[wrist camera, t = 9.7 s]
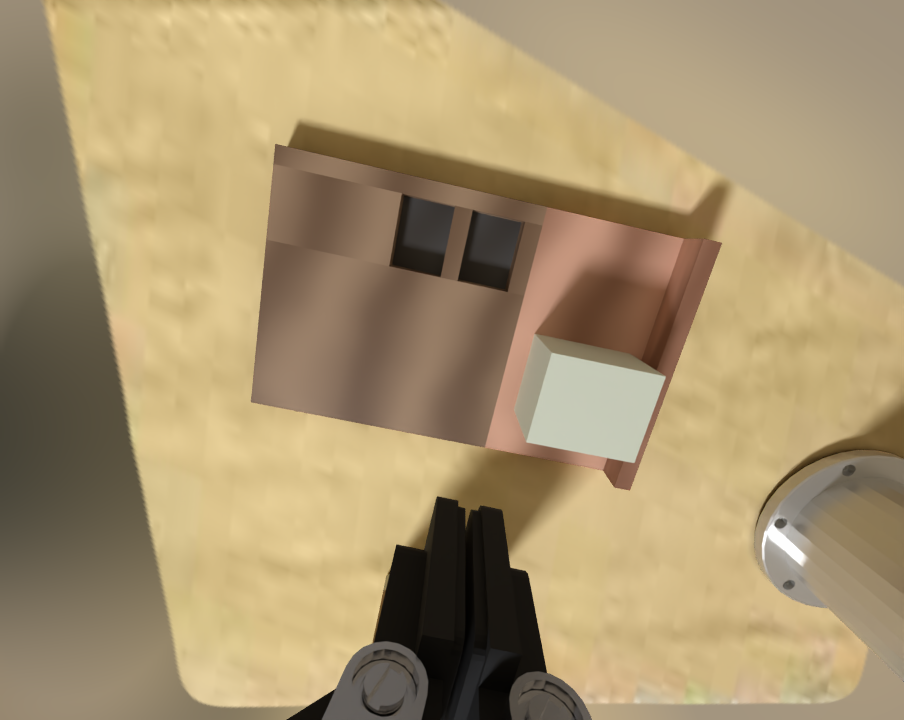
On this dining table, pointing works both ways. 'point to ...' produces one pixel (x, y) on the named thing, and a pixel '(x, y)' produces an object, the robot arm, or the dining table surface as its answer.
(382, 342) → the track
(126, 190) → the dining table surface
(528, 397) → the sage block
